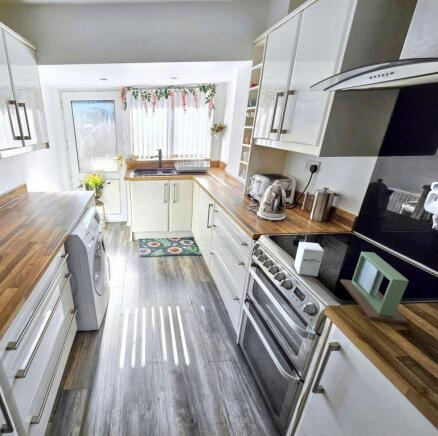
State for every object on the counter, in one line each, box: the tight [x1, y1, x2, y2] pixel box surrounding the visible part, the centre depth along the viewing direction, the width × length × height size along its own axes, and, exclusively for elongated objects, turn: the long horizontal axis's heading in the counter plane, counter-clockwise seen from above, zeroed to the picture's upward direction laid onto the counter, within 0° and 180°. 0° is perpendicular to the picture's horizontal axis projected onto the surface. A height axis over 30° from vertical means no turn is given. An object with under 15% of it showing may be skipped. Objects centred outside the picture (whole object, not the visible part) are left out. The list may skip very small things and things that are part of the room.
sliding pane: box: [371, 271, 385, 296], centre depth 86 cm, size 5×8×11 cm, turn 165°
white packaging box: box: [293, 241, 325, 277], centre depth 103 cm, size 7×7×13 cm
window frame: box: [339, 251, 409, 325], centre depth 84 cm, size 10×21×15 cm, turn 165°
